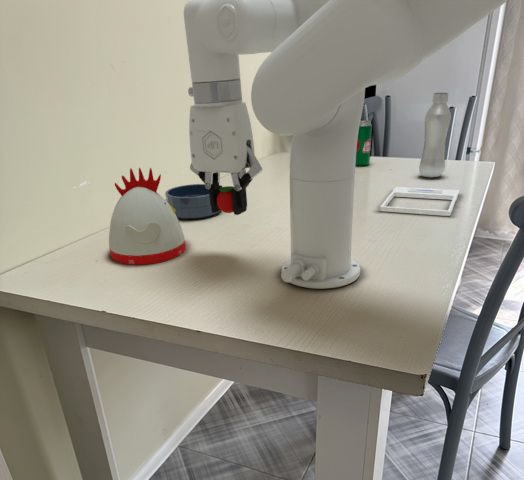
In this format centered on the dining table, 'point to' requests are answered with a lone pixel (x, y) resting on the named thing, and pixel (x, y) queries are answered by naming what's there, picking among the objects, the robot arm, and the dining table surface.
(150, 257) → the kitchen timer
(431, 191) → the photo frame
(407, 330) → the dining table surface
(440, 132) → the plastic bottle
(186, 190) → the bowl
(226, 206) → the red tomato
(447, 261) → the dining table surface
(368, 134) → the soda can
